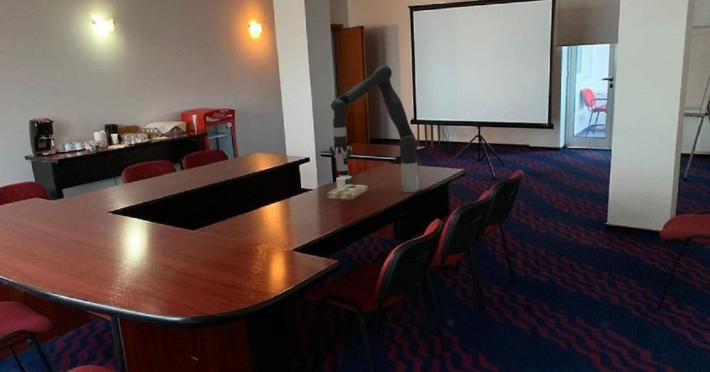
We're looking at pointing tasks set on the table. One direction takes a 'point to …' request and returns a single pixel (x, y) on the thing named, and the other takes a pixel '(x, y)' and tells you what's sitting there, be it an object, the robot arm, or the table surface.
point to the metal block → (340, 162)
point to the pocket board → (347, 191)
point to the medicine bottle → (344, 178)
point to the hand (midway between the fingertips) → (341, 164)
